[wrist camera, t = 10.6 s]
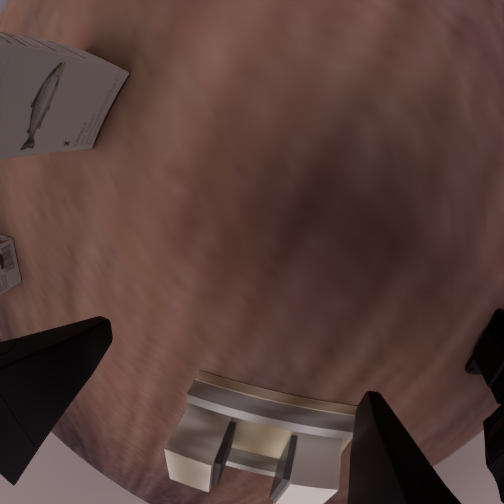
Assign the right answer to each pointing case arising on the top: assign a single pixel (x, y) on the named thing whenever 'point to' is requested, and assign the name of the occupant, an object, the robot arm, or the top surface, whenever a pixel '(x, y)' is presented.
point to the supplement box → (52, 96)
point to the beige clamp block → (245, 429)
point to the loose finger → (307, 470)
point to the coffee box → (8, 265)
